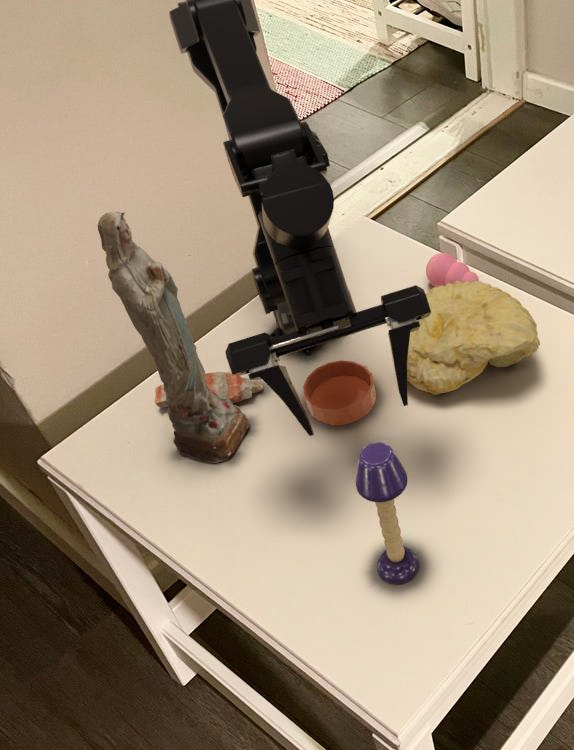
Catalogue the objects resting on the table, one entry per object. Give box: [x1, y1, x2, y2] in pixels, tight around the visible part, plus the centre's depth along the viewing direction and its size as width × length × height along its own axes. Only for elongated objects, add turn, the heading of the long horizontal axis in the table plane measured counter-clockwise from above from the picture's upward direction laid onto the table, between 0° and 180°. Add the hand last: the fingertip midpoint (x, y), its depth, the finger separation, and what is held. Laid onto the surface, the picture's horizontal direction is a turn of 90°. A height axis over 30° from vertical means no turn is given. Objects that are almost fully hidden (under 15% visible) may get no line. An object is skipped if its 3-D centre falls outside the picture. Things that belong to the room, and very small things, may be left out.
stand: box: [303, 360, 377, 426], centre depth 105 cm, size 8×8×2 cm
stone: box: [154, 371, 264, 407], centre depth 106 cm, size 12×2×5 cm
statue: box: [97, 211, 250, 464], centre depth 91 cm, size 8×7×30 cm
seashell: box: [407, 279, 541, 396], centre depth 104 cm, size 17×11×15 cm
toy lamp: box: [355, 441, 420, 585], centre depth 84 cm, size 5×5×17 cm
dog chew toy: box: [425, 252, 480, 287], centre depth 116 cm, size 4×4×7 cm
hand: (359, 420), depth 85 cm, fingers open, 9 cm apart
